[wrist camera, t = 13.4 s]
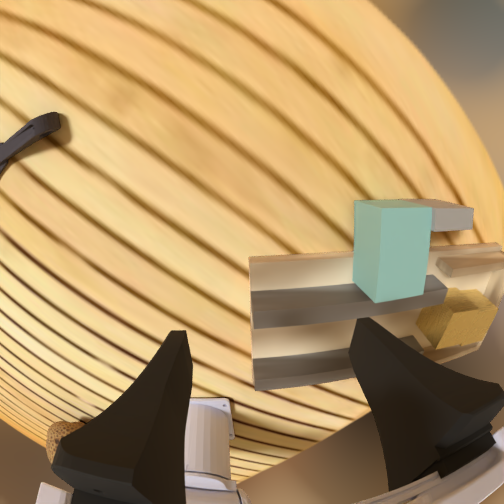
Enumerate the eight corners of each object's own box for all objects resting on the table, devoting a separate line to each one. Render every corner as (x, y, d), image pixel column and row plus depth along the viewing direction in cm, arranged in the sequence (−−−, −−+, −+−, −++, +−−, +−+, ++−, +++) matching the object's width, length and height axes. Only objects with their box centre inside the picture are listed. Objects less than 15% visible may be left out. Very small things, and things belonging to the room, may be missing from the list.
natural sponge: (45, 400, 28) (23, 454, 18) (89, 406, 28) (70, 469, 18) (77, 434, 31) (63, 483, 22) (121, 440, 31) (111, 495, 22)
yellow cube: (463, 319, 25) (482, 340, 21) (440, 322, 24) (460, 346, 21) (476, 288, 23) (498, 308, 19) (455, 290, 23) (478, 312, 19)
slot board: (462, 336, 28) (476, 353, 24) (252, 377, 26) (255, 405, 23) (496, 242, 22) (516, 256, 19) (248, 257, 20) (252, 281, 17)
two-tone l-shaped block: (434, 199, 20) (429, 267, 21) (352, 199, 19) (350, 278, 21) (473, 208, 15) (463, 288, 17) (384, 209, 15) (377, 305, 16)
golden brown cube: (442, 320, 24) (462, 343, 21) (415, 323, 24) (435, 349, 20) (456, 287, 23) (479, 309, 19) (429, 288, 22) (453, 313, 19)
